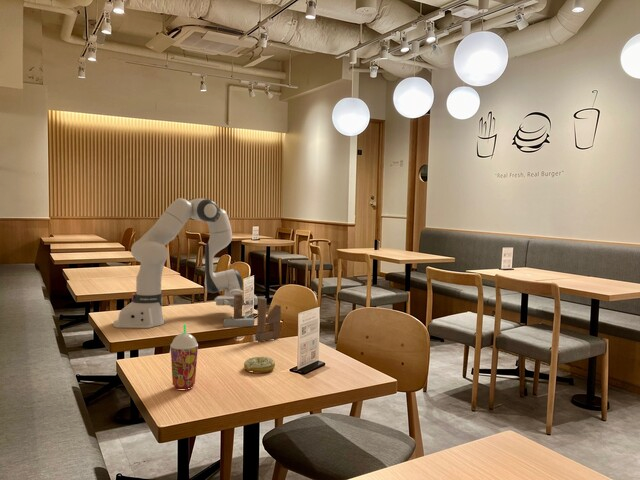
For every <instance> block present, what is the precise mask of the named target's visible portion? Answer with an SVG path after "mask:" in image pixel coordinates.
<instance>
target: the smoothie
mask: <svg viewBox="0 0 640 480" xmlns="http://www.w3.org/2000/svg"><path fill="white" fill-rule="evenodd" d="M186 328H187V324H186V323H185V324H183V332H182V333H179V334H177V335H176V336H175V337H174V338H173V340H172V342H171V343H170V358H171V378H172V385H173V387H175V388H176V389H188V388H191V387H193V388H194V385H195V384H196V375H197V374H196V373H197V362H198V361H197V360H198V350H199V343H198V342H197V339H196V337H195V336H194V335H192V333H191V334H190V333H188V332H187V331H186V330H187V329H186ZM175 388H174V389H175ZM176 389H175V390H176Z"/></svg>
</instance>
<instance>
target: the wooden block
mask: <svg viewBox="0 0 640 480" xmlns="http://www.w3.org/2000/svg"><path fill="white" fill-rule="evenodd" d="M257 300H258V301H257V318H256V319H257V321H256V323H257V325H256V330H257V331H255V338H254V339H255V341H257V342H265V341H271V340H276V339H280V338H281V309H282V307H281V305H279V304H275V305H274V306H273V308H272V309H271V310H270V312H269V313H268V314H267V298H265V297H259V298H258V297H257ZM267 325H268V329H267Z"/></svg>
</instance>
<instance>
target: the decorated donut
mask: <svg viewBox="0 0 640 480" xmlns="http://www.w3.org/2000/svg"><path fill="white" fill-rule="evenodd" d="M243 364H244V365H243V367H244V368H245V369H246V370H248V371H253V372H267V371H270V372H272V371H273V370H274V369H275V367H276V362H275V361H274V359H272V358H271V357H268V356H254V357H251V358H248V359H247V360H245V361H244V362H243ZM244 368H243V369H244ZM245 369H244V370H245ZM271 370H272V371H271ZM267 373H268V372H267Z"/></svg>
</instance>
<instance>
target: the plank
mask: <svg viewBox="0 0 640 480" xmlns="http://www.w3.org/2000/svg"><path fill="white" fill-rule="evenodd" d="M242 303H243V295H242V294H234V307H233V319H243V306H242Z"/></svg>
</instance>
